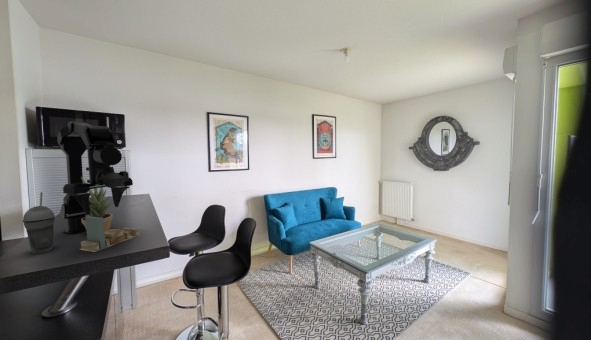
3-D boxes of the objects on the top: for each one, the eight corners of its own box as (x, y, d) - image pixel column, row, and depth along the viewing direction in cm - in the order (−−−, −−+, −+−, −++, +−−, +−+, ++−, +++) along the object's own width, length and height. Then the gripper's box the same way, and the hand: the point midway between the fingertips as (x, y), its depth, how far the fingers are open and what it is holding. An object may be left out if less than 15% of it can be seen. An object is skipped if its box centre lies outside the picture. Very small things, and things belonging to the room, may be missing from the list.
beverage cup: (35, 251, 83) (28, 191, 81) (63, 248, 85) (57, 189, 83) (20, 260, 76) (13, 195, 74) (51, 256, 79) (44, 193, 77)
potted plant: (76, 238, 94) (70, 173, 92) (99, 230, 104) (95, 170, 101) (98, 240, 92) (93, 173, 90) (120, 231, 102) (116, 170, 100)
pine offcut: (112, 239, 85) (111, 234, 85) (99, 238, 86) (98, 233, 86) (123, 234, 89) (123, 229, 89) (110, 233, 90) (110, 229, 90)
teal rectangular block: (101, 249, 81) (98, 219, 80) (87, 247, 83) (85, 217, 82) (105, 247, 82) (103, 217, 81) (92, 245, 84) (90, 216, 83)
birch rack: (95, 255, 79) (94, 244, 79) (79, 252, 81) (78, 242, 81) (140, 237, 94) (139, 228, 94) (126, 236, 96) (125, 226, 96)
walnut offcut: (111, 245, 84) (110, 239, 84) (98, 243, 86) (97, 238, 86) (125, 239, 89) (124, 234, 89) (112, 238, 91) (112, 233, 91)
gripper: (84, 167, 72) (89, 220, 74) (142, 162, 90) (145, 205, 91) (59, 166, 76) (64, 216, 77) (120, 162, 93) (123, 203, 95)
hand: (103, 210), depth 85 cm, fingers open, 9 cm apart
